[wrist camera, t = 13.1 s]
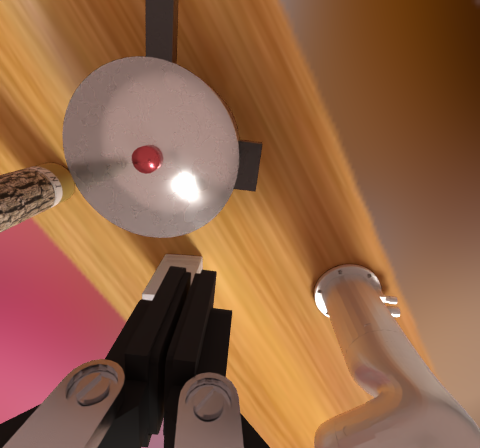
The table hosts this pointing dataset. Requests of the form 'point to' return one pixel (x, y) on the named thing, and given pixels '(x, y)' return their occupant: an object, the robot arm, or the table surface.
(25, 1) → the table surface
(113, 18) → the table surface
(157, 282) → the supplement box
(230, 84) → the table surface
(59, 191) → the brown cylindrical piece
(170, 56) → the pressure cooker pot
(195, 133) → the cooker lid
